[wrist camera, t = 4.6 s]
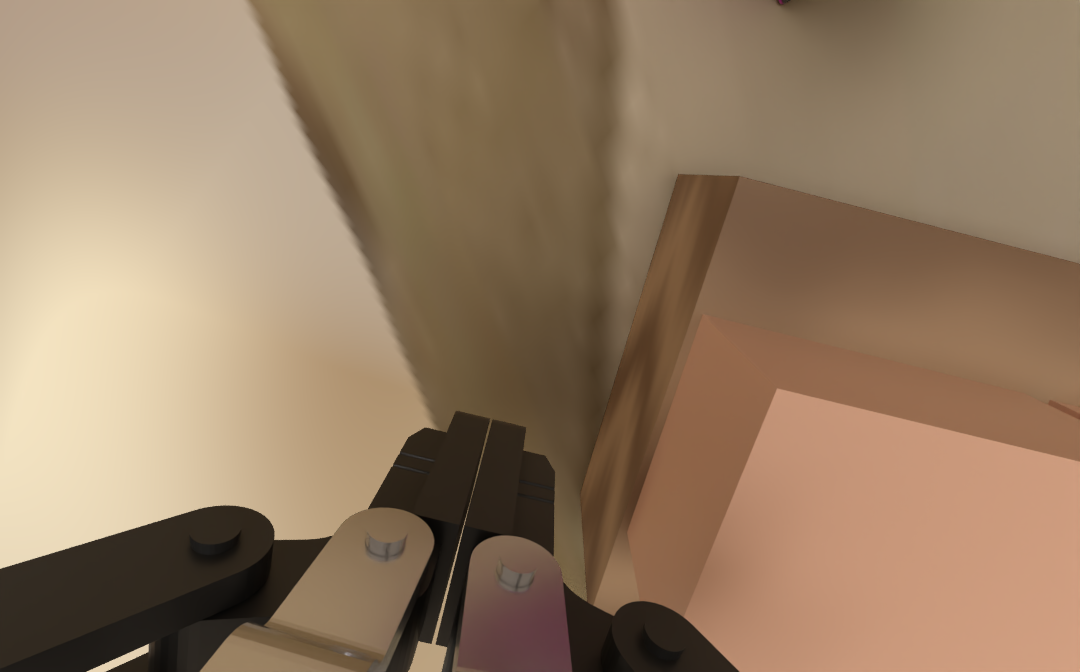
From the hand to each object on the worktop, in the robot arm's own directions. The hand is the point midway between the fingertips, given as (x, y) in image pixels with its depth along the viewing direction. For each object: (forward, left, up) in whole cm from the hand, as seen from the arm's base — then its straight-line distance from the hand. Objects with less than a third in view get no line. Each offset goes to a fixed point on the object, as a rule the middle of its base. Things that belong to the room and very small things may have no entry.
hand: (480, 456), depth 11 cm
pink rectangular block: (0, +9, -4) cm, 10 cm away
